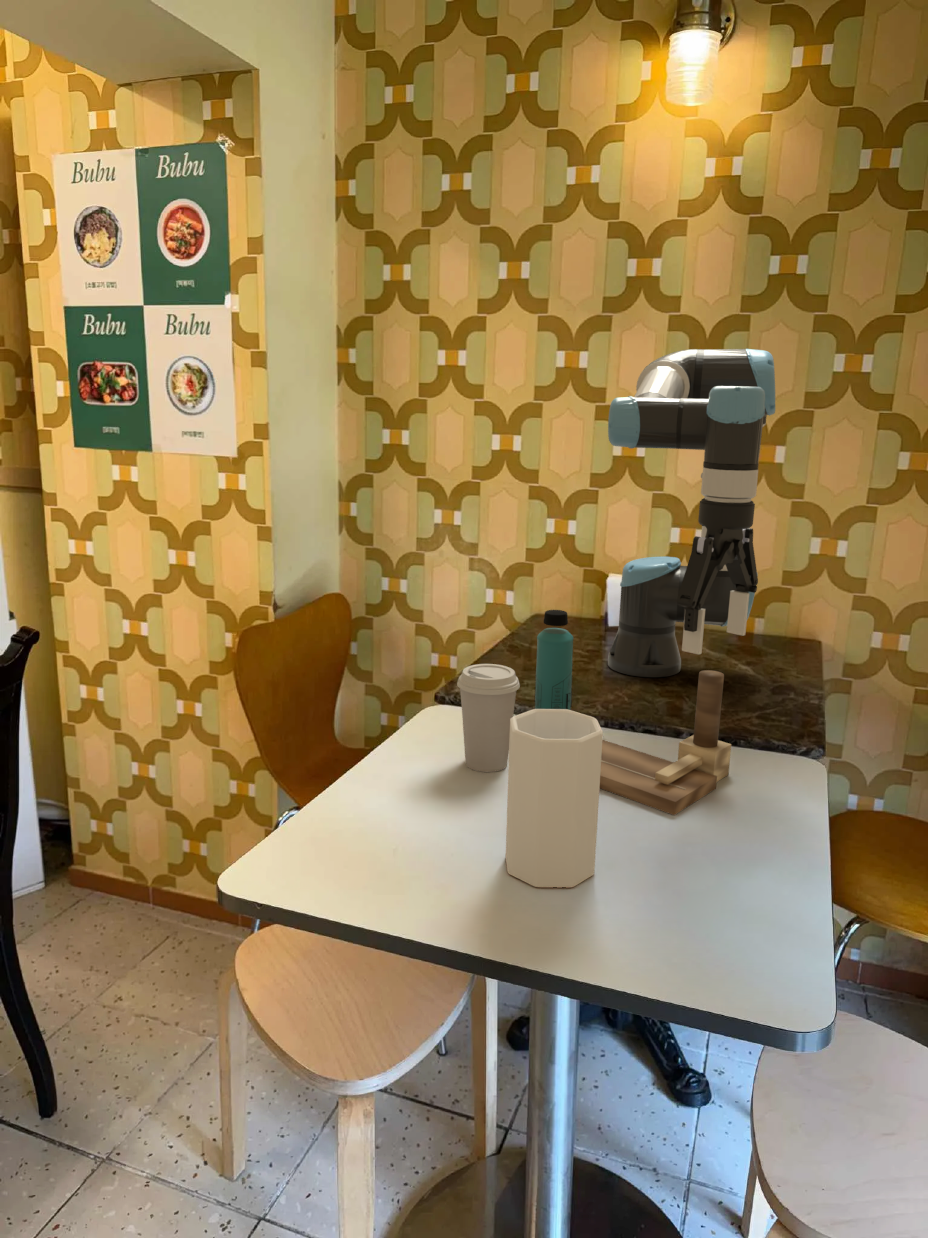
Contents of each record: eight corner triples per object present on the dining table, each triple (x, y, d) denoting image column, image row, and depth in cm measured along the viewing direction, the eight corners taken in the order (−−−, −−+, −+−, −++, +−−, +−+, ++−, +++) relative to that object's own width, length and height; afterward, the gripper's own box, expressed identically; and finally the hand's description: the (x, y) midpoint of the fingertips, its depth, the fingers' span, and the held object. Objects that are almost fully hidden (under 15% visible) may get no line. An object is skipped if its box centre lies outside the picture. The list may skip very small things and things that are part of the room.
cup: (529, 898, 103) (536, 747, 98) (488, 853, 113) (492, 714, 108) (612, 879, 107) (622, 733, 103) (566, 837, 117) (573, 703, 113)
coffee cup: (446, 756, 142) (447, 665, 139) (500, 748, 146) (503, 659, 142) (470, 780, 134) (472, 684, 130) (527, 770, 138) (531, 677, 134)
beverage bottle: (569, 729, 155) (574, 616, 150) (530, 726, 156) (535, 614, 151) (572, 717, 161) (577, 608, 156) (535, 713, 162) (539, 605, 157)
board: (572, 741, 150) (572, 729, 149) (715, 788, 133) (717, 775, 132) (526, 761, 141) (527, 749, 140) (674, 815, 124) (675, 801, 123)
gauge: (692, 763, 141) (701, 666, 138) (728, 774, 138) (738, 674, 134) (641, 793, 131) (649, 688, 127) (678, 806, 127) (687, 698, 123)
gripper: (743, 488, 139) (730, 622, 144) (658, 503, 121) (647, 654, 126) (790, 493, 134) (775, 631, 139) (709, 509, 116) (695, 666, 122)
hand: (714, 642), depth 133 cm, fingers open, 13 cm apart
